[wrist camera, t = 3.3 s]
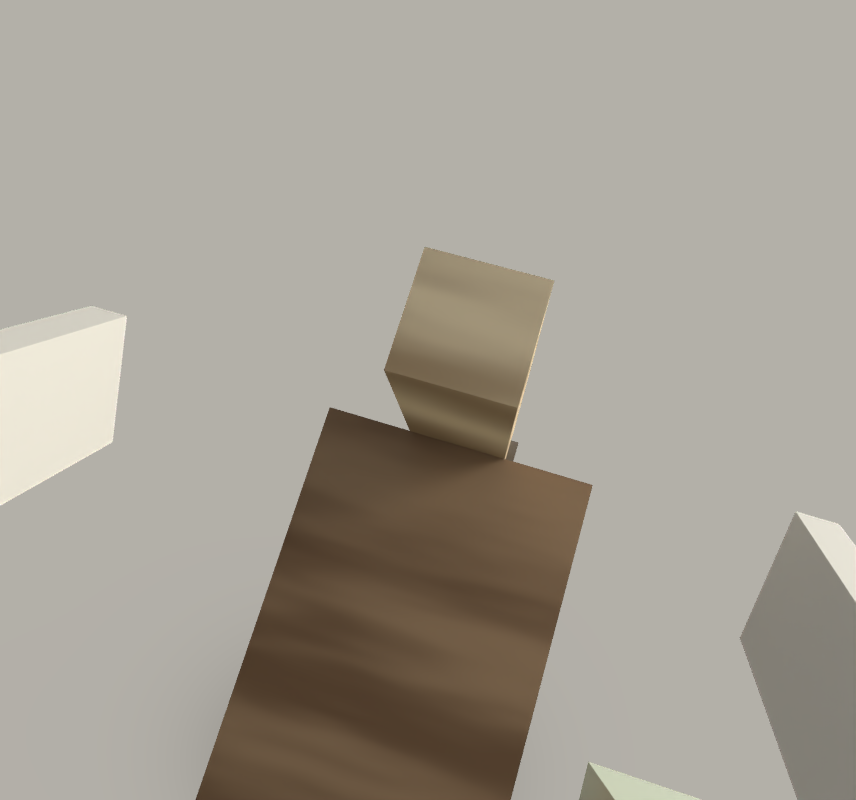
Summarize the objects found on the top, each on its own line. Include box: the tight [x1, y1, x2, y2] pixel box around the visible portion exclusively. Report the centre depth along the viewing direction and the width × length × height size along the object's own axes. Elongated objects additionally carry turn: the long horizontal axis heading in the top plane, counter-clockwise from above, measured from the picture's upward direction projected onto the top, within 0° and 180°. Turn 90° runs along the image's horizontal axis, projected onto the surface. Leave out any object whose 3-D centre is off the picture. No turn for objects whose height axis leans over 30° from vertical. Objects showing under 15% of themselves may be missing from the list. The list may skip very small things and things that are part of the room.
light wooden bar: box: [384, 247, 554, 461], centre depth 30 cm, size 21×4×4 cm, turn 176°
